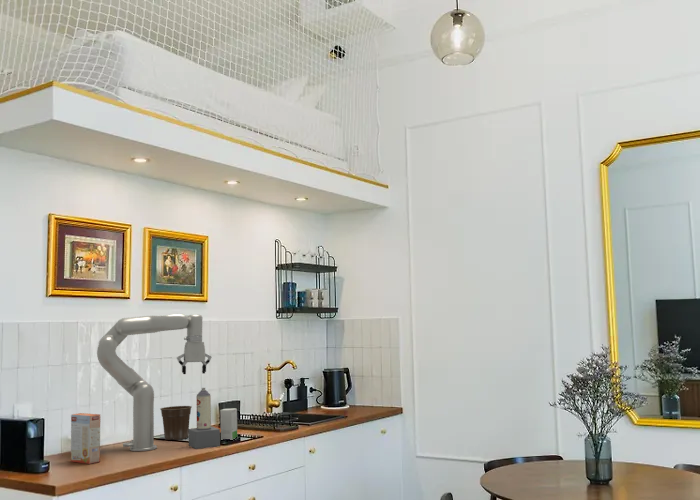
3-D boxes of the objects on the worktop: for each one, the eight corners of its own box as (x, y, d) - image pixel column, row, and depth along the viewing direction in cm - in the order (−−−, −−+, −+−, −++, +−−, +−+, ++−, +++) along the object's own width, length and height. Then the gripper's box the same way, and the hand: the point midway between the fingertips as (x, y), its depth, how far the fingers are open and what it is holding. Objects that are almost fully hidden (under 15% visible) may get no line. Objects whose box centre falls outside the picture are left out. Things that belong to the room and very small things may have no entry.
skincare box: (232, 441, 358) (231, 409, 360) (219, 441, 360) (219, 410, 361) (237, 438, 366) (237, 407, 368) (225, 438, 368) (225, 408, 369)
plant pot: (154, 439, 373) (154, 408, 374) (180, 435, 384) (180, 404, 386) (171, 442, 362) (171, 409, 363) (198, 437, 373) (197, 406, 375)
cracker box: (101, 462, 312) (101, 413, 314) (88, 464, 307) (89, 415, 309) (82, 459, 320) (82, 412, 322) (70, 461, 315) (70, 414, 317)
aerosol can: (195, 428, 349) (195, 387, 351) (209, 427, 352) (208, 386, 354) (198, 430, 343) (197, 388, 345) (212, 429, 346) (211, 387, 348)
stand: (195, 449, 339) (195, 431, 339) (188, 445, 349) (188, 429, 350) (220, 446, 344) (219, 429, 345) (212, 442, 355) (212, 426, 356)
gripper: (178, 339, 349) (178, 374, 348) (213, 339, 357) (213, 373, 355) (175, 339, 356) (175, 374, 354) (209, 339, 364) (209, 372, 362)
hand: (194, 373), depth 355 cm, fingers open, 9 cm apart
